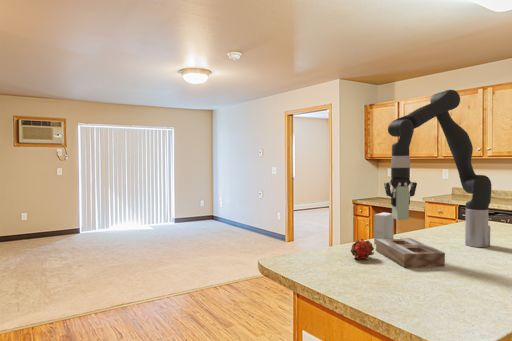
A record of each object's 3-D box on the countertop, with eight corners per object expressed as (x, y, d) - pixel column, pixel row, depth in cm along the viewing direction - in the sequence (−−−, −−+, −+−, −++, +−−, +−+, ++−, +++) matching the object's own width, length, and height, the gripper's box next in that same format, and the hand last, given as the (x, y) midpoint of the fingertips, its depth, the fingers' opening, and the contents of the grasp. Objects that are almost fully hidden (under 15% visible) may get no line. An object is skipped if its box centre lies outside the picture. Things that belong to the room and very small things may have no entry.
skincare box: (383, 241, 181) (383, 212, 180) (394, 244, 176) (394, 213, 176) (373, 244, 176) (373, 213, 175) (384, 246, 171) (384, 215, 170)
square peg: (403, 217, 160) (403, 185, 159) (408, 219, 155) (408, 186, 154) (392, 217, 159) (392, 185, 159) (397, 219, 154) (397, 186, 154)
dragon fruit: (372, 260, 154) (355, 269, 147) (358, 245, 159) (340, 254, 152) (382, 246, 149) (365, 255, 142) (366, 232, 154) (349, 240, 147)
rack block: (410, 249, 164) (410, 238, 164) (444, 266, 139) (444, 252, 138) (375, 250, 163) (375, 239, 163) (404, 267, 137) (404, 253, 137)
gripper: (412, 166, 161) (411, 205, 161) (380, 166, 159) (380, 205, 160) (421, 166, 153) (421, 207, 154) (388, 167, 152) (388, 207, 152)
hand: (400, 206), depth 157 cm, fingers closed on square peg, 5 cm apart
